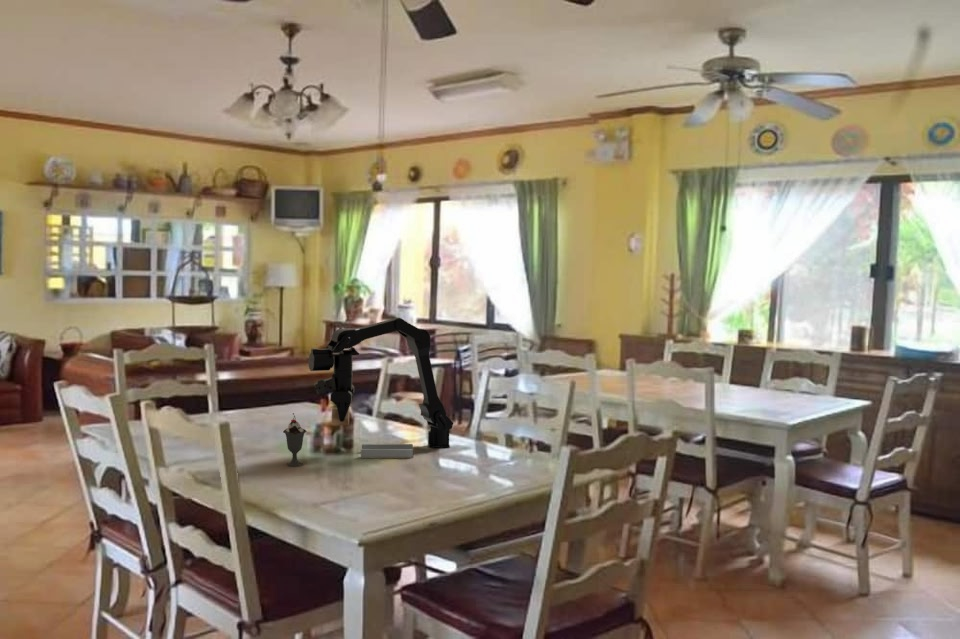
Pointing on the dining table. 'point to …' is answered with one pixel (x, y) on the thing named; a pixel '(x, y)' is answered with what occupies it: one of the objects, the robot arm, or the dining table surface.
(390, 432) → the dining table surface
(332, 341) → the robot arm
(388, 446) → the channel
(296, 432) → the sundae
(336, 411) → the block
